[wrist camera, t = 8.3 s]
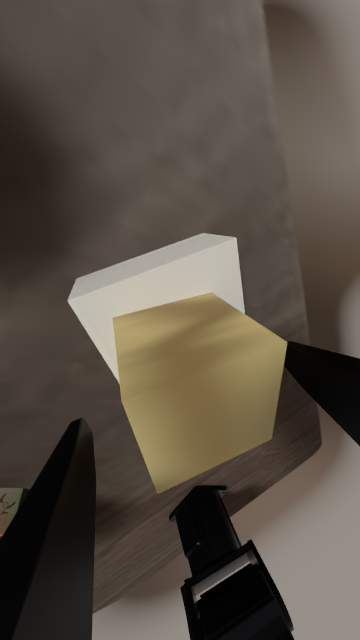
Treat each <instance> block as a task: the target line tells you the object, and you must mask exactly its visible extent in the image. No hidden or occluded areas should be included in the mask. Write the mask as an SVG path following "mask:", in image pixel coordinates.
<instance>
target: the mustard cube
mask: <svg viewBox="0 0 360 640" xmlns="http://www.w3.org/2000/svg"><path fill="white" fill-rule="evenodd" d="M112 319H113V328H114V337H115V346H116V355H117V364H118V373H119V381H120V390H121V399H122V403H123V406H124V408H125V411H126V414H127V416H128V419H129V421H130V424H131V427H132V429H133V432H134V434H135V437H136V439H137V442H138V445H139V447H140V450H141V452H142V455H143V457H144V460H145V463H146V465H147V468H148V470H149V473H150V475H151V478H152V481H153V483H154V486H155V488H156V491H157V494H159V493H161V492H163V491H165V490H168V489H170V488H172V487H174V486H176V485H178V484H180V483H182V482H184V481H186V480H188V479H190V478H192V477H194V476H196V475H199V474H201V473H203V472H205V471H207V470H209V469H211V468H213V467H215V466H217V465H219V464H221V463H223V462H225V461H227V460H229V459H232V458H234V457H236V456H238V455H240V454H242V453H244V452H246V451H248V450H250V449H252V448H254V447H256V446H258V445H260V444H262V443H265V442H267V441H269V440H271V439H272V434H273V428H274V422H275V416H276V410H277V404H278V398H279V391H280V385H281V379H282V373H283V367H284V361H285V355H286V348H287V342H286V341H285V340H283V339H282V338H280V337H279V336H277V335H276V334H274V333H273V332H271V331H270V330H268V329H266V328H265V327H263V326H262V325H260V324H259V323H257V322H256V321H254V320H253V319H251V318H250V317H248V316H247V315H245V314H244V313H242V312H241V311H239V310H238V309H236V308H234V307H233V306H231V305H230V304H228V303H227V302H225V301H224V300H222V299H221V298H219V297H218V296H216V295H215V294H213V293H212V292H210V293H206V294H203V295H199V296H195V297H191V298H187V299H183V300H179V301H175V302H171V303H167V304H164V305H160V306H156V307H152V308H148V309H144V310H140V311H136V312H132V313H128V314H124V315H121V316H117V317H113V318H112Z"/></svg>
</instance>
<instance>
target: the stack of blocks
mask: <svg viewBox="0 0 360 640" xmlns="http://www.w3.org/2000/svg"><path fill="white" fill-rule="evenodd" d="M22 491H23V488H0V539H1V537H2V536H3V534H4V532H5V531H6V529H7V527H8V526H9V524H10V522H11V521H12V519H13V517H14V516H15V514H16V512H17V510H18V507H19V503H20V499H21V496H22Z"/></svg>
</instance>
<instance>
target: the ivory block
mask: <svg viewBox="0 0 360 640" xmlns="http://www.w3.org/2000/svg"><path fill="white" fill-rule="evenodd" d="M210 292H212V293H213V294H215V295H216V296H218V297H219V298H221V299H222V300H224V301H225V302H227V303H228V304H230V305H231V306H233V307H234V308H236V309H238V310H239V311H241V312H242V313H244V314H245V310H244V301H243V292H242V283H241V275H240V266H239V257H238V248H237V240H236V237H228V236H221V235H213V234H206V233H202V234H199V235H196V236H194V237H191V238H188V239H185V240H183V241H180V242H177V243H174V244H171V245H169V246H166V247H163V248H160V249H158V250H155V251H152V252H149V253H146V254H144V255H141V256H138V257H135V258H132V259H130V260H127V261H124V262H121V263H119V264H116V265H113V266H110V267H107V268H105V269H102V270H99V271H96V272H94V273H91V274H88V275H85V276H82V277H80V278H77V279H76V281H75V284H74V286H73V289H72V291H71V293H70V296H69V298H68V303H69V304H70V306H71V307H72V309H73V311H74V312H75V314H76V315H77V317H78V318H79V320H80V322H81V323H82V325H83V326H84V328H85V330H86V331H87V333H88V334H89V336H90V337H91V339H92V341H93V342H94V344H95V345H96V347H97V349H98V350H99V352H100V353H101V355H102V357H103V358H104V360H105V361H106V363H107V364H108V366H109V368H110V369H111V371H112V372H113V374H114V376H115V377H116V379H117V380H118V382H119V384H120V381H119V373H118V364H117V355H116V346H115V337H114V328H113V319H112V318H113V317H117V316H121V315H124V314H128V313H132V312H136V311H140V310H144V309H148V308H152V307H156V306H160V305H164V304H167V303H171V302H175V301H179V300H183V299H187V298H191V297H195V296H199V295H203V294H206V293H210Z"/></svg>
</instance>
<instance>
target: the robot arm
mask: <svg viewBox="0 0 360 640" xmlns="http://www.w3.org/2000/svg"><path fill="white" fill-rule="evenodd" d="M284 366H285V367H286V368H287V370H288V371H289V372H290V373H291V375H292V376H293V377H294V378H295V379H296V381H297V382H298V383H299V384H300V385H301V387H302V388H303V389H304V390H305V391H306V392H307V393H308V394H309V395H310V396H311V397H312V398H313V399H314V400H315V401H316V402H317V403H318V404H319V405H320V406H321V407H322V408H323V409H324V410H325V411H326V412H327V413H328V414H329V415H330V416H331V417H332V418H333V419H334V420H335V421H336V422H337V423H338V424H339V425H340V426H341V428H343V430H344V431H345V432H346V433H347V434H348V435H349V436H350V437H351V438H352V439H353V440H354V441H355V442H356V443H357V444H358V445H359V446H360V359H359V358H355V357H351V356H347V355H343V354H339V353H335V352H331V351H328V350H324V349H320V348H316V347H312V346H308V345H304V344H300V343H296V342H292V341H287V348H286V355H285V361H284ZM226 492H227V489H226V487H196V488H194V489H193V490H192V491H191V493H190V494H189V495H188V496H187V497H186V498H185V499H184V500H183V502H182V503H181V504H180V505H179V506H178V507H177V508H176V510H175V511H174V512H173V513H172V514H171V515H170V516H169V520H170V522H175V521H176V522H177V526H178V530H179V534H180V538H181V542H182V546H183V550H184V554H185V557H186V558H188V561H189V565H190V569H191V572H192V577H191V578H187V579H186V580H184V582H185V584H184V585H183V586H182V587H181V593H182V597H183V602H184V607H185V611H186V616H187V622H188V629H189V634H190V640H294V638H293V636H292V633H291V632H292V631H293V630H294V629H293V624H292V622H291V618H290V616H289V613H288V611H287V608H286V606H285V604H284V601H283V599H282V597H281V595H280V593H279V591H278V589H277V587H276V585H275V583H274V581H273V580H272V577H271V576H270V574H269V572H268V570H267V568H266V566H265V564H264V563H263V560H262V559H261V557H260V555H259V553H258V551H257V549H256V547H255V545H254V543H253V541H252V540H249V541H247V543H246V544H245V545H243V546H241V543H240V541H239V538H238V536H237V534H236V532H235V529H234V527H233V524H232V522H231V520H230V517H229V515H228V513H227V510H226V508H225V506H224V503H223V501H222V499H221V498H222V497H223V496H224V495H225V493H226ZM95 507H96V470H95V458H94V445H93V435H92V431H91V429H90V427H89V426H88V424H87V422H86V420H85V419H84V418H80V419H77V420H74V421H72V422H71V423H70V424H69V426H68V428H67V429H66V431H65V433H64V434H63V436H62V438H61V439H60V441H59V443H58V444H57V446H56V448H55V449H54V451H53V453H52V454H51V456H50V458H49V459H48V461H47V463H46V464H45V466H44V468H43V469H42V471H41V473H40V474H39V476H38V477H37V479H36V481H35V482H34V484H33V486H32V487H31V489H30V491H29V492H28V494H27V496H26V497H25V499H24V501H23V502H22V504H21V506H20V507H19V509H18V511H17V512H16V514H15V516H14V517H13V519H12V521H11V522H10V524H9V526H8V527H7V529H6V531H5V532H4V534H3V536H2V537H1V539H0V640H92V612H93V577H94V542H95ZM249 561H250V564H248V565H247V566H245V567H244V568H242V569H241V570H239V571H237V572H236V573H234V574H233V575H231V576H230V577H228V578H227V579H225V580H224V581H222V582H220V583H219V584H217V585H216V586H214V587H213V588H211V589H210V590H208V591H206V592H205V593H203V594H202V595H200V597H201V599H200V600H198V601H197V600H196V595H197V594H199V593H200V592H202V591H203V590H205V589H207V588H208V587H210V586H211V585H213V584H214V583H216V582H217V581H219V580H221V579H222V578H224V577H225V576H227V575H228V574H230V573H231V572H233V571H235V570H236V569H238V568H239V567H241V566H242V565H244V564H245V563H247V562H249Z"/></svg>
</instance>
